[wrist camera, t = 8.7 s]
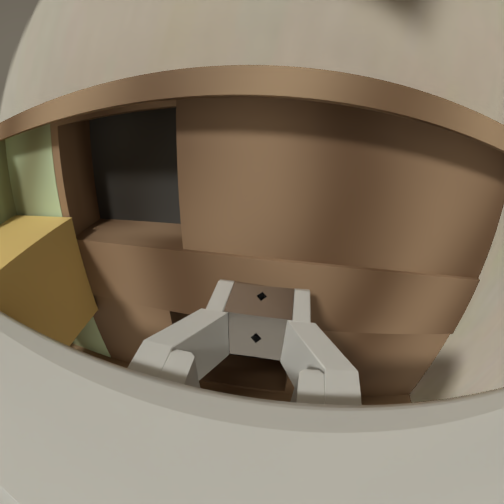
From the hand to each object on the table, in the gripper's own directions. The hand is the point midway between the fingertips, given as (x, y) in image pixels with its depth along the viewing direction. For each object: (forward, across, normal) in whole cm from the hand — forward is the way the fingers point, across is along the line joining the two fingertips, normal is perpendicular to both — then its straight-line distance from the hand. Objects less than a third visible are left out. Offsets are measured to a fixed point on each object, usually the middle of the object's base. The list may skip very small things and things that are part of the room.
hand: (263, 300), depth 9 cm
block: (+1, +11, 0) cm, 11 cm away
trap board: (+3, +3, 0) cm, 4 cm away
